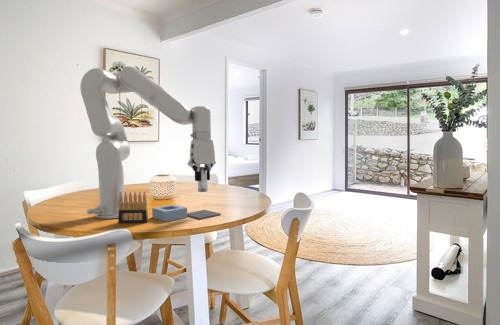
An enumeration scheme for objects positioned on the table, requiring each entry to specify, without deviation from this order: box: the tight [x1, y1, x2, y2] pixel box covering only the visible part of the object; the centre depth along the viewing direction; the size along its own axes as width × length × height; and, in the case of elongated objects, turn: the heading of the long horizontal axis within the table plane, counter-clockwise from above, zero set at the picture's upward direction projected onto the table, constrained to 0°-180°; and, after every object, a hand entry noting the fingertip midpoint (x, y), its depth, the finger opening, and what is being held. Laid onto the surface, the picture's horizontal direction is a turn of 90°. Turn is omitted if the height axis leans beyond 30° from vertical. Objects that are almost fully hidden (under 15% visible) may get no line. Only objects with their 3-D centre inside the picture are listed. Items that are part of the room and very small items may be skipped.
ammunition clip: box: [117, 191, 149, 224], centre depth 121 cm, size 11×2×12 cm, turn 95°
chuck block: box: [151, 204, 188, 223], centre depth 129 cm, size 10×10×4 cm
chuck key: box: [197, 166, 209, 193], centre depth 132 cm, size 4×8×10 cm, turn 45°
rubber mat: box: [187, 209, 222, 221], centre depth 133 cm, size 11×11×1 cm
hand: (202, 179), depth 132 cm, fingers closed on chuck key, 4 cm apart
